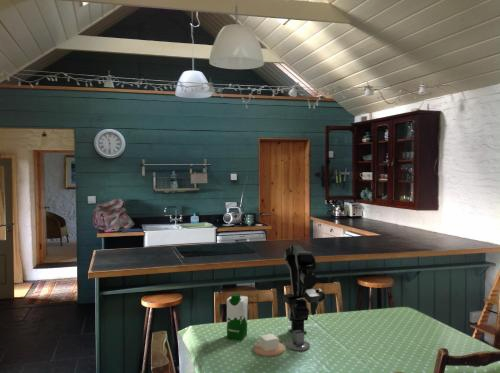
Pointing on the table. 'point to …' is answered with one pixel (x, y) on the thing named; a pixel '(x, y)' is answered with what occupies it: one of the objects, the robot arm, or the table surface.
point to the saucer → (270, 353)
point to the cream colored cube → (269, 342)
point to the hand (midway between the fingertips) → (304, 316)
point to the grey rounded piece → (298, 342)
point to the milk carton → (237, 317)
